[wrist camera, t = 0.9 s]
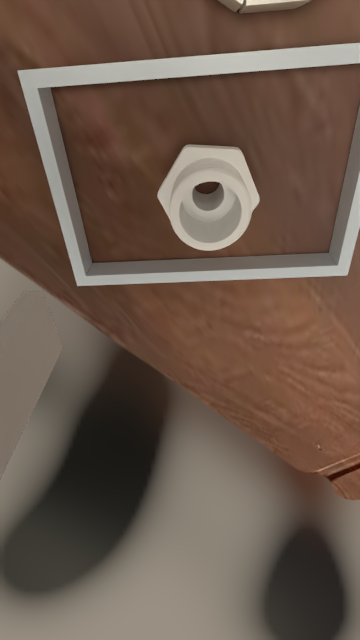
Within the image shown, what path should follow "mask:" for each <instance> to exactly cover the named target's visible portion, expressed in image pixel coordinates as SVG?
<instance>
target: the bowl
mask: <svg viewBox="0 0 360 640" xmlns="http://www.w3.org/2000/svg"><path fill="white" fill-rule="evenodd" d="M217 1H219V2H220V3H222V4H223V5H225V6H226V7H228V8H229V9H231V10H232V11H233V12H235V13H236V11H237V10H238V9H239V14H242V13H253V12H265V11H276V10H287V9H296V8H297V7H300V6H302V5H304V4H306V3H307V2H309V1H311V0H217Z"/></svg>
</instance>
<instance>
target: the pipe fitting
mask: <svg viewBox="0 0 360 640" xmlns="http://www.w3.org/2000/svg"><path fill="white" fill-rule="evenodd" d="M208 181H210V182H219V183H220V185H219V187H218V188H217V189H216V191H214V192H213V193H210V194H202V193H200V192H198V191H197V190H196V189H195V188H194V187H195V186H196V185H198V184H200V183H204V182H208ZM158 199H159V201H160V203H161V204H162V206H163V208H164V210H165V212H166V214H167V215H168V217H169V219H170V221H171V225H172V227H173V229H174V231H175V233H176V234H177V236H178V237H179V238H180V239H181V240H182V241H183V242H184V243H186V244H187V245H189V246H191V247H193V248H196V249H199V250H206V251H211V250H218V249H221V248H224V247H227V246H229V245H231V244H232V243H234V242H235V241H236V240H238V239H239V238H240V237H241V236H242V234H243V233H244V232H245V230H246V228H247V227H248V224H249V222H250V219H251V215H252V211H253V210H254V209H255V207H256V206H257V205H258V203H259V200H260V199H259V195H258V192H257V190H256V187H255V185H254V182H253V179H252V177H251V174H250V171H249V169H248V166H247V164H246V161H245V158H244V156H243V153H242V152H241V150H240V149H239V148H238V147H229V146H210V145H191V144H189V145H186V146H184V147H183V148H182V150H181V152H180V154H179V155H178V157H177V159H176V160H175V162H174V164H173V166H172V167H171V169H170V171H169V172H168V174H167V176H166V178H165V179H164V181H163V183H162V184H161V186H160V188H159V191H158Z"/></svg>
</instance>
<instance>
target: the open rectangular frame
mask: <svg viewBox="0 0 360 640" xmlns="http://www.w3.org/2000/svg"><path fill="white" fill-rule="evenodd" d="M355 63H360V43H350V44H338V45H326V46H314V47H301V48H289V49H277V50H264V51H252V52H240V53H227V54H215V55H203V56H191V57H178V58H166V59H154V60H141V61H129V62H117V63H105V64H92V65H80V66H68V67H55V68H43V69H31V70H18V75H19V78H20V82H21V86H22V89H23V93H24V96H25V100H26V104H27V107H28V111H29V114H30V118H31V121H32V125H33V129H34V132H35V136H36V139H37V143H38V147H39V150H40V154H41V157H42V161H43V165H44V168H45V172H46V175H47V179H48V182H49V186H50V190H51V193H52V197H53V200H54V204H55V208H56V211H57V215H58V218H59V222H60V225H61V229H62V233H63V236H64V240H65V243H66V247H67V251H68V254H69V258H70V261H71V265H72V268H73V272H74V276H75V279H76V283H77V286H91V285H117V284H142V283H167V282H193V281H218V280H243V279H269V278H294V277H319V276H345V275H348V271H349V267H350V263H351V259H352V255H353V251H354V247H355V243H356V239H357V236H358V232H359V228H360V105H359V110H358V115H357V120H356V124H355V129H354V134H353V139H352V144H351V148H350V153H349V158H348V163H347V168H346V172H345V177H344V182H343V187H342V192H341V196H340V201H339V206H338V211H337V216H336V220H335V225H334V230H333V235H332V240H331V244H330V249H329V253H311V254H289V255H266V256H243V257H220V258H197V259H174V260H151V261H128V262H106V263H92V260H91V256H90V252H89V247H88V243H87V239H86V235H85V231H84V226H83V222H82V218H81V214H80V210H79V205H78V201H77V197H76V193H75V189H74V184H73V180H72V176H71V172H70V168H69V163H68V159H67V155H66V151H65V147H64V142H63V138H62V134H61V130H60V126H59V122H58V117H57V113H56V109H55V105H54V101H53V96H52V92H51V88H50V87H59V86H72V85H85V84H98V83H111V82H123V81H136V80H149V79H162V78H175V77H188V76H201V75H214V74H226V73H239V72H252V71H265V70H278V69H291V68H304V67H317V66H329V65H342V64H355Z"/></svg>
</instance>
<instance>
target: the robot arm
mask: <svg viewBox="0 0 360 640" xmlns="http://www.w3.org/2000/svg"><path fill="white" fill-rule="evenodd" d="M62 348H63V346H62V344H61V341H60V338H59V335H58V332H57V329H56V326H55V324H54V320H53V318H52V315H51V312H50V309H49V306H48V303H47V300H46V298H45V295H44V292H43V291H29V292H23V293H22V294H21V295H20V297H19V298H18V299H17V301H16V302H15V303H14V305H13V306H12V307H11V309H10V310H9V311H8V312H7V314H6V315H5V316H4V318H3V319H2V320H1V322H0V479H1V477H2V475H3V473H4V471H5V469H6V466H7V464H8V462H9V460H10V458H11V456H12V454H13V451H14V449H15V447H16V445H17V443H18V441H19V439H20V437H21V434H22V433H23V430H24V428H25V426H26V424H27V422H28V420H29V418H30V416H31V414H32V412H33V409H34V407H35V405H36V403H37V401H38V399H39V397H40V395H41V393H42V390H43V388H44V386H45V384H46V382H47V380H48V378H49V376H50V373H51V371H52V369H53V367H54V365H55V363H56V361H57V359H58V357H59V355H60V352H61V350H62Z"/></svg>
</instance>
